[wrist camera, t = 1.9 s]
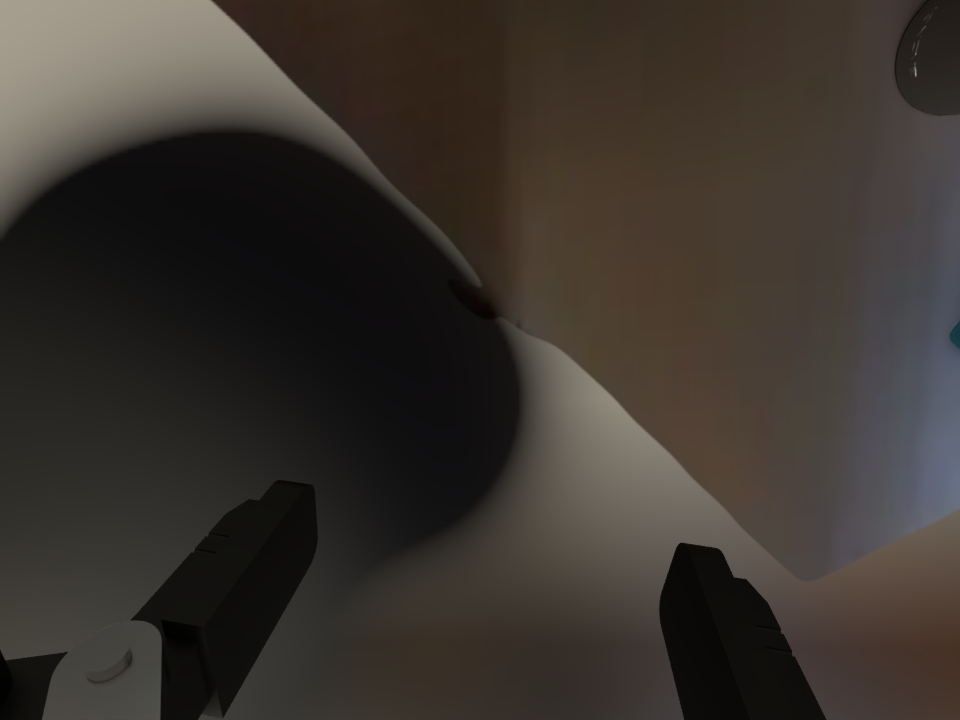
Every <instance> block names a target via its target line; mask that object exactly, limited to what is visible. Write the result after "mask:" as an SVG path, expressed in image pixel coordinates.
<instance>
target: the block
mask: <svg viewBox="0 0 960 720" xmlns="http://www.w3.org/2000/svg"><path fill="white" fill-rule="evenodd" d="M950 339H951V341H952V342H953V343H954V344H955V345H956V346H957V347H958V349H959V350H960V322H959V323H958V325H957V326H956V327H955V328H954V329H953V331H952V332H951V335H950Z"/></svg>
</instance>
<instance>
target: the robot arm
mask: <svg viewBox="0 0 960 720" xmlns="http://www.w3.org/2000/svg"><path fill="white" fill-rule="evenodd" d="M896 78H897V82H898V85H899V89H900V91H901V93H902V94H903V96H904V98H905V99H906V101H908V102H909V103H910V104H911V105H912V106H913V107H914V108H916V109H918V110H920V111H922V112H925V113H928V114H933V115H957V114H960V0H929V1H928V2H927V3H926V4H925V5H924V6H923V7H922V8H921V9H920V11H919V12H918V13H917V14H916V16H915V17H914V18H913V20H912V21H911V23H910V25H909V27H908V28H907V30H906V32H905V34H904V36H903V39H902V41H901V44H900V47H899V50H898V55H897V61H896ZM317 542H318V528H317V513H316V498H315V489H314V486H313V485H311V484H306V483H300V482H293V481H287V480H277V481H275V482H274V483H273V485H272V486H271V487H270V488H269V489H268V490H267V492H266V493H265V494H264V495H263V496H262V498H261V499H260V500H259V501H258V500H251V499H249V500H247V501H245V502H244V503H242V504H241V505H239V506H238V507H236V508H234V509H233V510H231V511H229V512H228V513H227V514H225V515H224V516H223V518H222V519H221V520H220V521H219V522H218V523H217V524H216V525H215V527H214V528H213V529H212V530H211V531H210V532H209V535H208V537H205V538H204V539H203V540H202V541H201V542H200V543H199V544H198V546H197V547H196V548H195V551H194V553H190V555H189V556H188V557H187V558H186V559H185V560H184V561H183V562H182V564H181V565H180V566H179V567H178V568H177V569H176V570H175V571H174V573H173V574H172V575H171V576H170V577H169V578H168V579H167V580H166V582H165V583H164V584H163V585H162V586H161V587H160V588H159V589H158V591H157V592H156V593H155V594H154V595H153V596H152V597H151V598H150V600H149V601H148V602H147V603H146V604H145V605H144V606H143V607H142V608H141V610H140V611H139V612H138V613H137V614H136V615H135V616H134V617H133V618H132V619H131V620H130V621H125V622H120V623H116V624H112V625H110V626H107V627H105V628H103V629H100V630H98V631H97V632H94V633H93V634H91V635H90V636H88V637H86V638H85V639H83V640H82V641H81V642H79V643H78V644H77V645H75V646H74V647H73V648H72V649H71V650H70V651H69V652H65V653H58V654H50V655H43V656H35V657H28V658H21V659H13V660H6V661H5V659H4V657H3V655H2V653H1V650H0V720H198V719H199V717H200V716H201V714H204V715H209V716H214V717H219V718H223V717H224V716H225V714H226V712H227V710H228V709H229V707H230V705H231V703H232V702H233V700H234V698H235V696H236V695H237V693H238V691H239V689H240V688H241V686H242V684H243V682H244V680H245V679H246V677H247V675H248V674H249V672H250V670H251V668H252V667H253V665H254V663H255V661H256V660H257V658H258V656H259V654H260V652H261V651H262V649H263V647H264V646H265V644H266V642H267V640H268V639H269V637H270V635H271V633H272V632H273V630H274V628H275V626H276V625H277V623H278V621H279V619H280V618H281V616H282V614H283V612H284V611H285V609H286V607H287V605H288V604H289V602H290V600H291V598H292V597H293V595H294V593H295V591H296V589H297V588H298V586H299V584H300V583H301V581H302V579H303V577H304V576H305V574H306V572H307V570H308V568H309V567H310V565H311V563H312V561H313V558H314V555H315V552H316V548H317ZM659 612H660V624H661V628H662V632H663V636H664V640H665V644H666V648H667V652H668V656H669V660H670V664H671V668H672V672H673V676H674V680H675V684H676V688H677V693H678V697H679V700H680V704H681V709H682V713H683V716H684V720H826V718H825V716H824V714H823V712H822V710H821V708H820V706H819V704H818V702H817V700H816V698H815V696H814V694H813V692H812V690H811V688H810V686H809V684H808V682H807V680H806V678H805V676H804V674H803V672H802V670H801V668H800V666H799V664H798V662H797V660H796V658H795V657H793V656H792V650H791V648H790V646H789V644H788V642H787V640H786V638H785V636H784V634H781V628H780V626H779V624H778V622H777V620H776V618H775V616H774V614H773V612H772V610H771V608H770V606H769V604H768V603H767V601H766V600H765V599H764V598H763V597H762V596H761V595H760V594H759V593H758V592H757V591H756V589H755V588H754V587H753V586H752V585H751V584H750V583H749V582H748V581H747V580H746V579H741V578H734V577H733V575H732V572H731V571H730V568H729V566H728V564H727V561H726V559H725V557H724V555H723V553H722V552H721V551H720V550H719V549H717V548H713V547H705V546H699V545H693V544H686V543H680V544H679V545H678V546H677V548H676V550H675V553H674V556H673V559H672V562H671V565H670V568H669V572H668V574H667V577H666V580H665V583H664V586H663V589H662V593H661V597H660V606H659Z"/></svg>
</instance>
